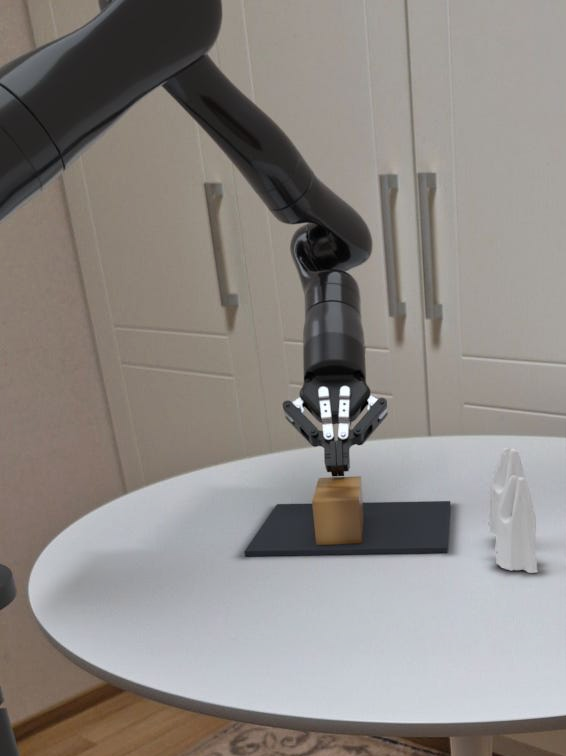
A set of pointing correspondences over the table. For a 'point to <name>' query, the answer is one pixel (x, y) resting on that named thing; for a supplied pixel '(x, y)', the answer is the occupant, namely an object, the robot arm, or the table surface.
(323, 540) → the oak block
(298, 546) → the rubber mat
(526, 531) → the shaker set
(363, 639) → the table surface
